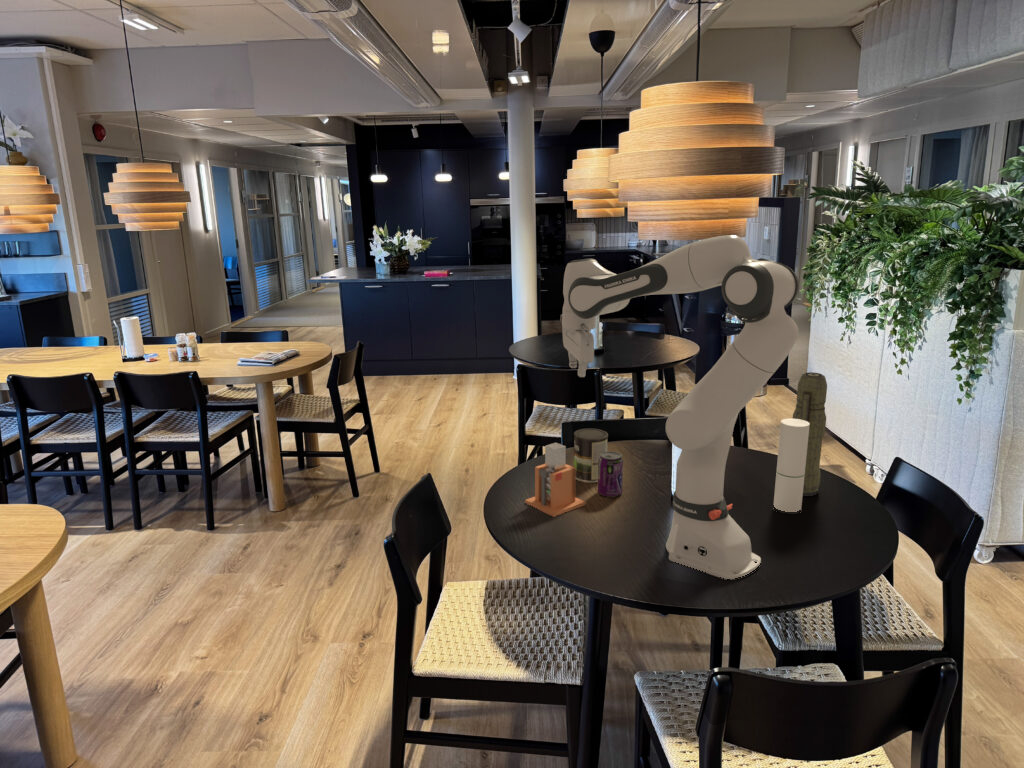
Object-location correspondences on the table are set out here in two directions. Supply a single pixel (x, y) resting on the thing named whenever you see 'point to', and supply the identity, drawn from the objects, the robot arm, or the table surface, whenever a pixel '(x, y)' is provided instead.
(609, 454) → the beverage can
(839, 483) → the table surface
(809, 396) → the thermos
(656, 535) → the table surface
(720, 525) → the robot arm
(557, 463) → the column
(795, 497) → the cylindrical container
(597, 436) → the coffee can
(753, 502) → the table surface
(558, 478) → the stand base
